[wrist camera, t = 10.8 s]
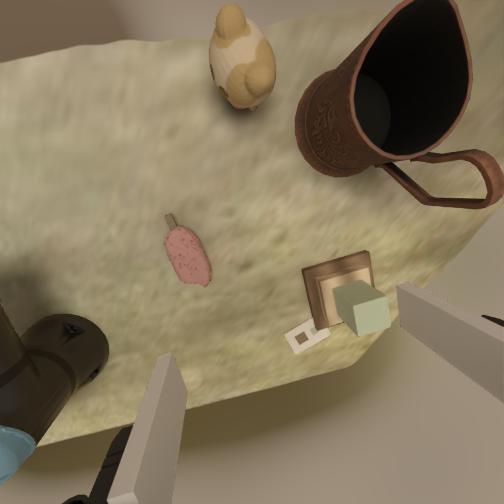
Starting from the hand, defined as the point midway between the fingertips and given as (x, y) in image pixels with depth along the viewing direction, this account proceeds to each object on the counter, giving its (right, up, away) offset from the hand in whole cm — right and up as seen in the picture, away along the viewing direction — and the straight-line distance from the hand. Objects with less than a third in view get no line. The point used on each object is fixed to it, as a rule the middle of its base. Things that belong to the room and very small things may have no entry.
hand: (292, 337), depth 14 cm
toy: (-5, +32, +29) cm, 43 cm away
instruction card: (+10, -13, +42) cm, 45 cm away
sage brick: (+17, -4, +36) cm, 40 cm away
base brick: (+16, -3, +40) cm, 43 cm away
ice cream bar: (-15, +5, +34) cm, 38 cm away
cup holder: (+16, +26, +33) cm, 45 cm away
